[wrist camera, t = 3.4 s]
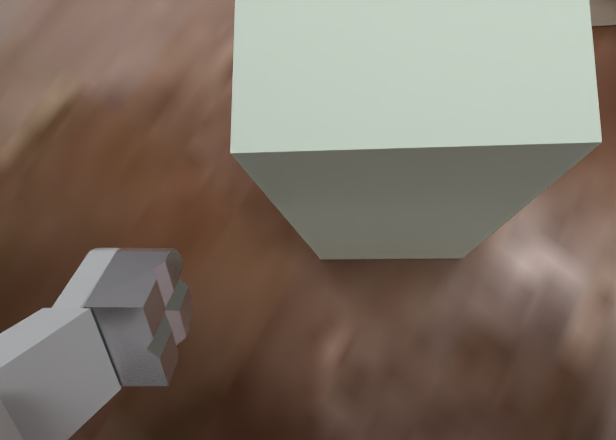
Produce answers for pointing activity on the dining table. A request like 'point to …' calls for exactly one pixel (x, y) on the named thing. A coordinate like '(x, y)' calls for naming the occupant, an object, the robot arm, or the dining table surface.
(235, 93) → the sage block
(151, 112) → the dining table surface
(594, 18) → the birch base
